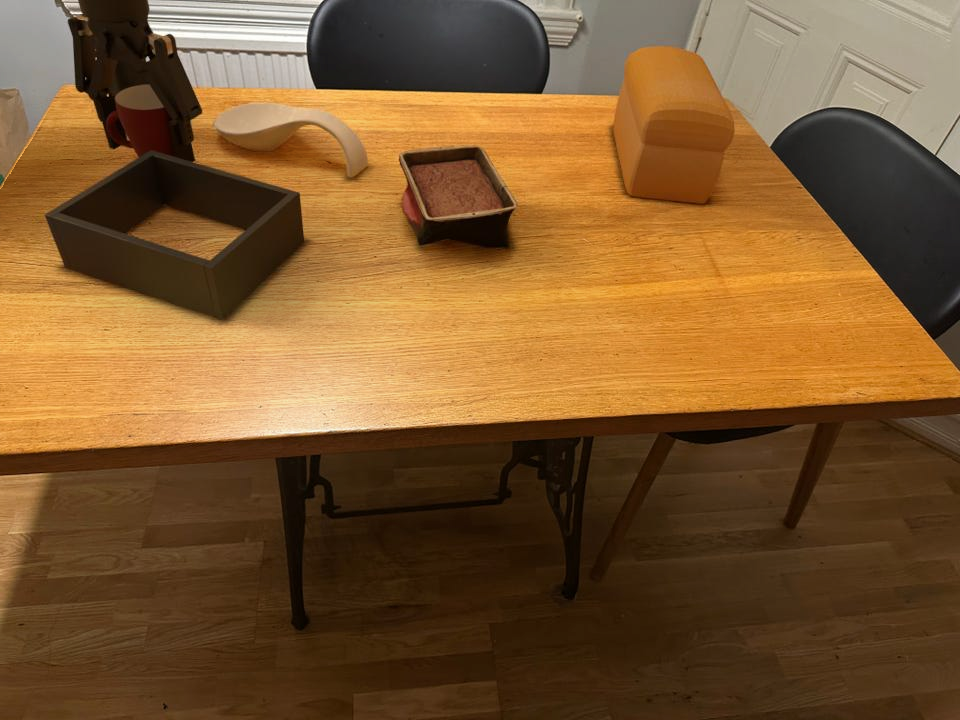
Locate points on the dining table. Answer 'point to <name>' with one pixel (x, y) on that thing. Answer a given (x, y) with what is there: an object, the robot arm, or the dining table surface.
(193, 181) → the dark rectangular frame
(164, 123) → the mug
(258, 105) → the spoon rest
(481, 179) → the baking dish
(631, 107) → the bread
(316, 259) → the dining table surface
